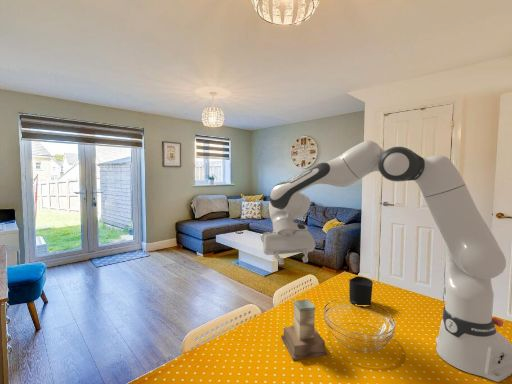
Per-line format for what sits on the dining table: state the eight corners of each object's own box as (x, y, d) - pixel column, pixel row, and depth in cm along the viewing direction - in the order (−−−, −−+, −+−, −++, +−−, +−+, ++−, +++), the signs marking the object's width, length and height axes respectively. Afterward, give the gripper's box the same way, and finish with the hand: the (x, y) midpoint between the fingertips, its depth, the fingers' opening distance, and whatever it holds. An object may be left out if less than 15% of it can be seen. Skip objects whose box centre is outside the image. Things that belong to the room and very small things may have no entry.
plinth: (311, 333, 93) (311, 322, 92) (327, 355, 82) (327, 342, 81) (281, 337, 90) (281, 326, 90) (293, 360, 79) (293, 347, 79)
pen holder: (346, 297, 120) (347, 275, 120) (367, 298, 120) (368, 276, 119) (351, 307, 111) (352, 284, 110) (374, 308, 110) (375, 285, 110)
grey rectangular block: (307, 328, 89) (308, 299, 88) (314, 337, 84) (315, 307, 83) (293, 330, 88) (293, 300, 87) (299, 340, 83) (299, 308, 82)
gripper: (261, 228, 101) (268, 260, 92) (310, 225, 106) (321, 256, 97) (258, 236, 106) (265, 269, 97) (306, 233, 110) (316, 264, 102)
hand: (293, 262), depth 97 cm, fingers open, 8 cm apart
